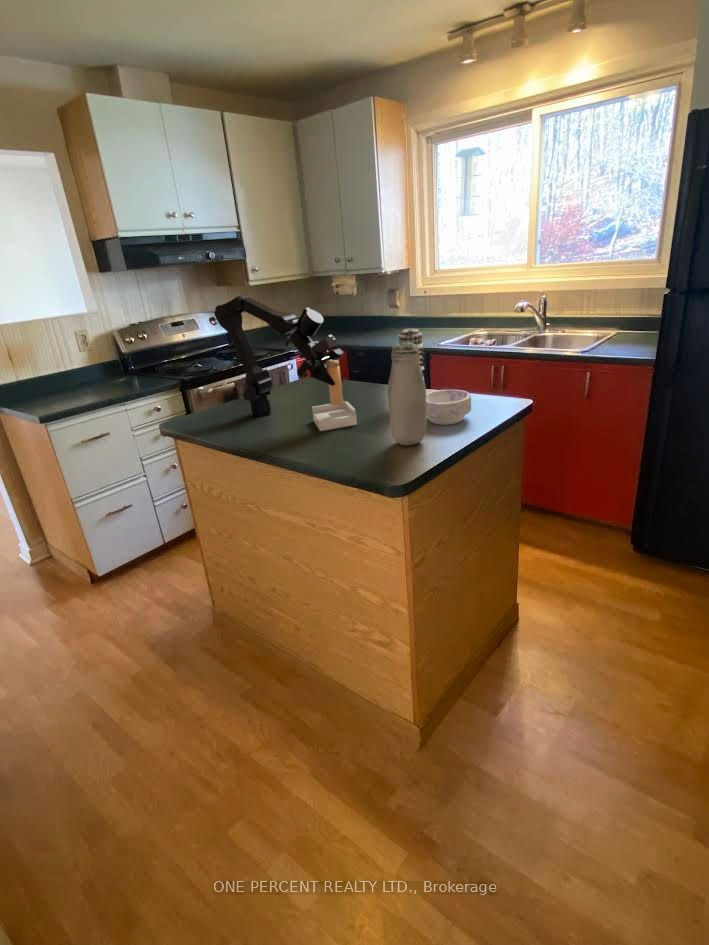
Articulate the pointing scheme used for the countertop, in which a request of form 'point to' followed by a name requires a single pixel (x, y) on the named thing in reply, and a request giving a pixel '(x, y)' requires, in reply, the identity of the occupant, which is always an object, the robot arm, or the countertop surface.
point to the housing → (334, 416)
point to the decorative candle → (416, 338)
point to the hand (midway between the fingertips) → (338, 382)
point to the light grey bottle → (406, 395)
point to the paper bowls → (447, 406)
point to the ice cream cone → (335, 390)
